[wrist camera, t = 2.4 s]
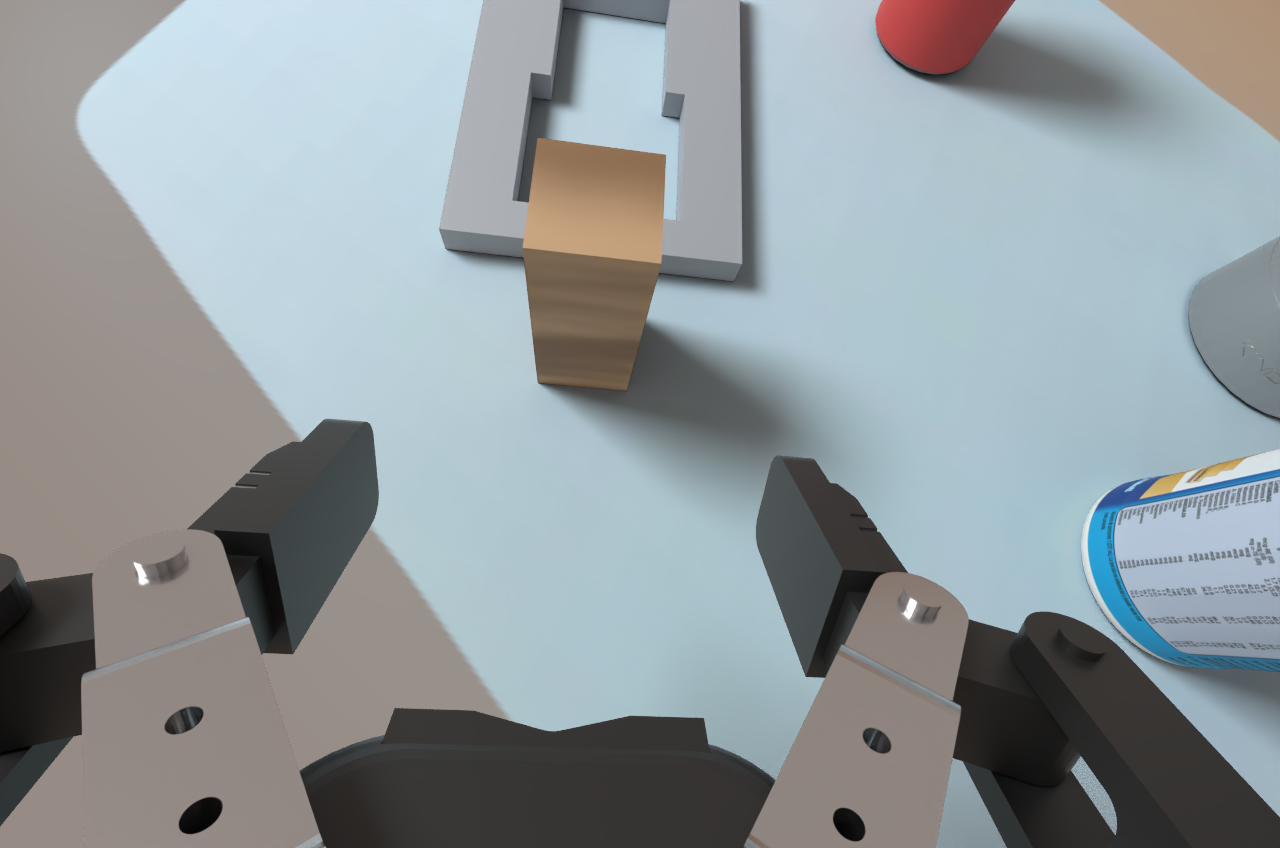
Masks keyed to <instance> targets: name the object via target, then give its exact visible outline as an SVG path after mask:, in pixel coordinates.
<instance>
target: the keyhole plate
mask: <svg viewBox="0 0 1280 848" xmlns="http://www.w3.org/2000/svg"><path fill="white" fill-rule="evenodd" d="M563 7H564V8H571V9H577V10H583V11H590V12H596V13H603V14H609V15H615V16H622V17H628V18H634V19H641V20H647V21H654V22H660V23H666V34H665V55H664V76H663V98H662V116H670V117H677V118H680V122H679V152H678V181H677V211H676V221H675V220H667V219H663V236H662V259H661V267H660V270H659V273H665V274H673V275H682V276H691V277H700V278H709V279H718V280H727V281H734V280H735V278H736V276H737V274H738V272H739V270H740V268H741V266H742V182H741V88H740V0H483V5H482V10H481V15H480V20H479V25H478V30H477V36H476V41H475V46H474V51H473V56H472V61H471V67H470V72H469V77H468V82H467V87H466V92H465V98H464V103H463V108H462V113H461V118H460V123H459V129H458V134H457V139H456V144H455V149H454V154H453V160H452V165H451V170H450V175H449V180H448V186H447V191H446V196H445V201H444V206H443V211H442V217H441V222H440V227H439V230H440V233H441V236H442V239H443V242H444V245H445V248H446V249H452V250H460V251H469V252H478V253H487V254H496V255H505V256H514V257H523V258H524V256H523V241H524V233H525V226H526V219H527V211H528V204H529V203H528V202H520V201H518V195H519V188H520V181H521V174H522V167H523V160H524V153H525V146H526V139H527V132H528V125H529V118H530V111H531V104H532V97H534V98H541V99H548V100H551V99H552V91H553V83H554V75H555V68H556V60H557V52H558V44H559V37H560V29H561V21H562V13H563Z"/></svg>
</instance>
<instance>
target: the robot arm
mask: <svg viewBox="0 0 1280 848" xmlns="http://www.w3.org/2000/svg"><path fill="white" fill-rule="evenodd" d="M1188 315H1189V322H1190V329H1191V332H1192V335H1193V338H1194V341H1195V344H1196V346H1197V348H1198V350H1199V352H1200V354H1201V355H1202V357H1203V359H1204V361H1205V362H1206V364H1207V365H1208V366H1209V368H1210V369H1211V370H1212V372H1213V373H1214V374H1215V376H1216V377H1217V378H1218V379H1219V380H1220V381H1221V382H1222V383H1223V384H1224V385H1225V386H1226V387H1227V388H1228V389H1229V390H1230V391H1231V392H1233V393H1234V394H1235V395H1236V396H1238V397H1239V398H1240V399H1242V400H1243V401H1244V402H1246V403H1247V404H1249V405H1251V406H1253V407H1255V408H1256V409H1258V410H1260V411H1262V412H1264V413H1266V414H1269V415H1272V416H1275V417H1278V418H1280V237H1278V238H1276V239H1274V240H1272V241H1270V242H1269V243H1267V244H1265V245H1263V246H1261V247H1259V248H1257V249H1256V250H1254V251H1252V252H1250V253H1248V254H1246V255H1244V256H1243V257H1241V258H1239V259H1237V260H1235V261H1233V262H1231V263H1230V264H1228V265H1226V266H1224V267H1222V268H1220V269H1218V270H1217V271H1215V272H1213V273H1211V274H1210V275H1208V276H1206V277H1205V278H1203V279H1202V280H1201V281H1200V282H1199V283H1198V285H1197V286H1196V287H1195V288H1194V291H1193V293H1192V295H1191V298H1190V303H1189V312H1188ZM378 498H379V491H378V479H377V469H376V458H375V447H374V437H373V431H372V427H371V425H370V424H369V423H368V422H361V421H348V420H336V419H325V420H323V421H322V422H321V423H320V424H319V425H318V426H317V427H316V428H315V429H314V430H313V431H312V432H311V433H310V434H309V435H308V436H307V437H306V438H305V439H304V440H303V441H302V442H291V443H289V444H287V445H286V446H283V447H281V448H279V449H277V450H275V451H273V452H271V453H269V454H267V455H266V456H265V457H264V458H262V459H261V460H260V461H259V462H258V463H257V464H256V465H255V466H254V467H253V468H252V469H251V470H250V473H249V474H245V475H244V476H243V477H242V478H241V479H240V480H239V481H238V482H237V483H236V486H235V487H232V488H231V489H229V490H228V491H227V492H226V493H225V494H224V495H223V496H222V497H221V498H220V499H219V500H218V501H217V502H215V503H214V504H213V505H212V506H211V507H210V508H209V509H208V510H207V511H206V512H205V513H204V514H203V515H202V516H201V517H200V518H199V519H197V520H196V521H195V522H194V523H193V524H192V525H191V526H190V527H189V528H188V529H185V530H173V531H166V532H161V533H156V534H153V535H149V536H146V537H143V538H140V539H138V540H135V541H132V542H130V543H128V544H126V545H124V546H122V547H120V548H119V549H117V550H115V551H114V552H112V553H111V554H109V555H108V556H107V557H106V558H104V559H103V560H102V561H101V562H100V563H99V565H98V566H97V567H96V569H95V571H94V573H90V574H83V575H75V576H69V577H61V578H53V579H46V580H39V581H31V582H25V580H24V578H23V576H22V574H21V571H20V569H19V567H18V564H17V562H16V561H15V560H14V559H13V558H12V557H10V556H7V555H5V554H0V826H1V824H3V822H4V821H5V820H6V818H7V817H8V816H9V815H10V814H11V812H12V811H13V810H14V809H15V807H16V806H17V805H18V804H19V803H20V801H21V800H22V799H23V798H24V796H25V795H26V794H27V793H28V792H29V790H30V789H31V788H32V787H33V785H34V784H35V783H36V782H37V781H38V779H39V778H40V777H41V776H42V774H43V773H44V772H45V771H46V769H47V768H48V767H49V766H50V765H51V763H52V762H53V761H54V760H55V758H56V757H57V756H58V755H59V753H60V752H61V751H62V750H63V749H64V747H65V746H66V745H67V744H68V742H69V741H70V740H71V739H72V738H73V736H78V735H82V756H83V807H84V808H83V809H84V848H936V843H937V838H938V833H939V827H940V822H941V817H942V811H943V806H944V801H945V795H946V790H947V785H948V779H949V774H950V769H951V763H952V758H955V759H958V760H961V761H963V763H964V765H965V767H966V769H967V770H968V772H969V774H970V776H971V778H972V780H973V782H974V784H975V786H976V788H977V790H978V792H979V794H980V796H981V798H982V800H983V802H984V804H985V806H986V807H987V809H988V811H989V813H990V815H991V817H992V819H993V821H994V823H995V825H996V827H997V829H998V831H999V833H1000V835H1001V837H1002V839H1003V841H1004V842H1005V844H1006V846H1007V848H1280V817H1279V816H1278V815H1277V814H1276V813H1275V812H1274V811H1273V810H1272V809H1271V808H1270V806H1269V805H1268V804H1267V803H1266V802H1265V801H1264V800H1263V799H1262V798H1261V797H1260V796H1259V795H1258V794H1257V793H1256V792H1255V791H1254V789H1253V788H1252V787H1251V786H1250V785H1249V784H1248V783H1247V782H1246V781H1245V780H1244V779H1243V778H1242V777H1241V776H1240V775H1239V774H1238V772H1237V771H1236V770H1235V769H1234V768H1233V767H1232V766H1231V765H1230V764H1229V763H1228V762H1227V761H1226V760H1225V759H1224V758H1223V757H1222V755H1221V754H1220V753H1219V752H1218V751H1217V750H1216V749H1215V748H1214V747H1213V746H1212V745H1211V744H1210V743H1209V742H1208V741H1207V739H1206V738H1205V737H1204V736H1203V735H1202V734H1201V733H1200V732H1199V731H1198V730H1197V729H1196V728H1195V727H1194V726H1193V725H1192V724H1191V722H1190V721H1189V720H1188V719H1187V718H1186V717H1185V716H1184V715H1183V714H1182V713H1181V712H1180V711H1179V710H1178V709H1177V708H1176V707H1175V705H1174V704H1173V703H1172V702H1171V701H1170V700H1169V699H1168V698H1167V697H1166V696H1165V695H1164V694H1163V693H1162V692H1161V691H1160V690H1159V688H1158V687H1157V686H1156V685H1155V684H1154V683H1153V682H1152V681H1151V680H1150V679H1149V678H1148V677H1147V676H1146V675H1145V674H1144V673H1143V671H1142V670H1141V669H1140V668H1139V667H1138V666H1137V665H1136V664H1135V663H1134V662H1133V661H1132V660H1131V659H1130V658H1129V657H1128V655H1127V654H1126V653H1125V652H1124V651H1123V650H1122V649H1121V648H1120V647H1119V646H1118V645H1117V644H1115V643H1114V642H1113V641H1112V640H1110V639H1109V638H1108V637H1106V636H1105V635H1104V634H1102V633H1101V632H1099V631H1097V630H1096V629H1094V628H1092V627H1091V626H1089V625H1087V624H1085V623H1083V622H1081V621H1078V620H1076V619H1074V618H1071V617H1068V616H1065V615H1061V614H1058V613H1052V612H1035V613H1032V614H1030V615H1029V616H1027V618H1026V620H1025V621H1024V623H1023V625H1022V627H1021V629H1020V630H1019V632H1018V633H1015V632H1011V631H1008V630H1004V629H1001V628H997V627H994V626H990V625H986V624H983V623H979V622H976V621H973V620H970V619H968V615H967V612H966V610H965V608H964V607H963V606H962V604H961V603H960V602H959V601H958V600H957V599H956V597H954V596H953V595H952V594H951V593H950V592H948V591H947V590H946V589H944V588H943V587H941V586H940V585H938V584H936V583H934V582H932V581H930V580H928V579H926V578H923V577H921V576H917V575H914V574H910V573H908V572H907V571H906V569H905V568H904V566H903V565H902V564H901V562H900V561H899V559H898V558H897V556H896V555H895V553H894V552H893V551H892V549H891V548H890V546H889V545H888V543H887V542H886V540H885V539H884V538H883V536H882V535H881V533H880V532H877V528H876V526H875V525H874V523H873V522H872V520H871V519H870V518H868V515H867V513H866V512H865V510H864V509H863V507H862V506H861V504H860V503H859V502H858V500H857V499H856V498H855V497H854V496H852V495H851V494H850V493H848V492H847V491H846V490H844V489H843V488H842V487H841V486H839V485H838V484H834V483H829V481H828V479H827V478H826V476H825V475H824V473H823V472H822V470H821V469H820V467H819V466H818V464H817V463H816V461H815V460H814V459H812V458H801V457H788V456H776V457H775V458H774V459H773V461H772V463H771V467H770V470H769V474H768V478H767V482H766V486H765V490H764V494H763V498H762V502H761V506H760V510H759V514H758V518H757V525H756V540H757V546H758V549H759V552H760V555H761V557H762V560H763V563H764V566H765V568H766V571H767V574H768V576H769V579H770V582H771V584H772V587H773V590H774V593H775V595H776V598H777V601H778V603H779V606H780V609H781V611H782V614H783V617H784V619H785V622H786V625H787V628H788V630H789V633H790V636H791V638H792V641H793V644H794V646H795V649H796V652H797V654H798V657H799V660H800V663H801V665H802V668H803V671H804V673H805V676H806V677H822V678H825V679H824V681H823V684H822V686H821V688H820V690H819V692H818V694H817V696H816V698H815V700H814V702H813V704H812V706H811V708H810V710H809V713H808V715H807V717H806V719H805V721H804V723H803V725H802V727H801V729H800V731H799V733H798V735H797V737H796V739H795V742H794V744H793V746H792V748H791V750H790V752H789V754H788V756H787V758H786V760H785V762H784V764H783V766H782V768H781V771H780V773H779V775H778V777H777V779H776V780H775V779H773V778H772V777H771V776H770V775H769V774H767V773H766V772H764V771H763V770H761V769H760V768H758V767H757V766H756V765H754V764H753V763H751V762H749V761H747V760H745V759H743V758H742V757H740V756H738V755H736V754H734V753H732V752H729V751H727V750H724V749H722V748H719V747H716V746H713V745H710V744H708V740H707V734H706V728H705V722H704V718H681V717H650V716H628V717H623V718H618V719H614V720H609V721H604V722H600V723H595V724H590V725H585V726H581V727H576V728H571V729H566V730H562V731H555V732H554V731H544V730H541V729H537V728H533V727H530V726H526V725H523V724H519V723H516V722H512V721H508V720H505V719H501V718H498V717H494V716H490V715H487V714H483V713H480V712H476V711H463V710H434V709H403V708H401V709H400V708H395V709H394V712H393V714H392V717H391V720H390V723H389V725H388V728H387V731H386V734H385V735H383V736H378V737H374V738H371V739H368V740H364V741H361V742H358V743H355V744H352V745H349V746H347V747H345V748H342V749H340V750H337V751H335V752H332V753H331V754H328V755H327V756H325V757H323V758H321V759H319V760H317V761H315V762H313V763H311V764H310V765H308V766H306V767H305V768H303V769H302V770H300V771H299V769H298V766H297V763H296V760H295V757H294V754H293V751H292V747H291V744H290V741H289V738H288V735H287V732H286V729H285V726H284V723H283V720H282V717H281V714H280V710H279V707H278V704H277V701H276V698H275V695H274V692H273V689H272V686H271V683H270V680H269V677H268V674H267V671H266V668H265V664H264V662H263V658H262V654H263V653H279V654H293V653H294V652H295V650H296V648H297V647H298V645H299V643H300V642H301V640H302V639H303V637H304V635H305V634H306V632H307V630H308V629H309V627H310V625H311V624H312V622H313V620H314V619H315V617H316V615H317V614H318V612H319V610H320V609H321V607H322V605H323V604H324V602H325V600H326V599H327V597H328V595H329V594H330V592H331V591H332V589H333V587H334V586H335V584H336V582H337V580H338V579H339V577H340V576H341V574H342V572H343V571H344V569H345V567H346V566H347V564H348V562H349V561H350V559H351V557H352V556H353V554H354V552H355V551H356V549H357V547H358V546H359V544H360V542H361V541H362V539H363V538H364V535H365V534H366V532H367V531H368V529H369V528H370V526H371V524H372V522H373V520H374V518H375V515H376V511H377V506H378ZM1080 756H1081V757H1082V758H1083V759H1084V761H1085V762H1086V764H1087V765H1088V766H1089V768H1090V769H1091V771H1092V772H1093V773H1094V775H1095V776H1096V778H1097V779H1098V780H1099V782H1100V783H1101V785H1102V786H1103V787H1104V789H1105V790H1106V792H1107V793H1108V795H1109V797H1110V799H1111V801H1112V803H1113V806H1114V809H1115V812H1116V817H1117V832H1116V835H1114V833H1113V832H1112V830H1111V829H1110V827H1109V826H1108V824H1107V823H1106V822H1105V820H1104V819H1103V817H1102V816H1101V814H1100V813H1099V811H1098V810H1097V808H1096V807H1095V805H1094V804H1093V802H1092V801H1091V799H1090V798H1089V796H1088V795H1087V794H1086V792H1085V791H1084V789H1083V788H1082V786H1081V785H1080V783H1079V782H1078V780H1077V779H1076V777H1075V776H1074V774H1073V773H1072V771H1071V769H1072V768H1073V766H1074V765H1075V763H1076V762H1077V760H1078V759H1079V758H1080Z"/></svg>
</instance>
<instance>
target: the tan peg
mask: <svg viewBox="0 0 1280 848" xmlns="http://www.w3.org/2000/svg"><path fill="white" fill-rule="evenodd" d="M665 165H666V155H663V154H655V153H648V152H640V151H633V150H625V149H618V148H610V147H603V146H595V145H588V144H581V143H573V142H566V141H558V140H551V139H543V138H537V145H536V152H535V160H534V167H533V174H532V182H531V189H530V197H529V204H528V211H527V219H526V226H525V233H524V241H523V256H524V265H525V274H526V283H527V292H528V300H529V309H530V318H531V327H532V336H533V345H534V354H535V363H536V371H537V380H538V383H544V384H555V385H566V386H577V387H588V388H598V389H609V390H620V391H627V388H628V384H629V381H630V377H631V373H632V370H633V366H634V362H635V359H636V355H637V351H638V348H639V344H640V340H641V337H642V333H643V329H644V325H645V322H646V318H647V314H648V311H649V307H650V303H651V300H652V296H653V292H654V289H655V285H656V281H657V278H658V274H659V270H660V267H661V259H662V236H663V212H664V189H665Z"/></svg>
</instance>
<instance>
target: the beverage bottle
mask: <svg viewBox="0 0 1280 848" xmlns="http://www.w3.org/2000/svg"><path fill="white" fill-rule="evenodd" d="M1081 555H1082V562H1083V567H1084V572H1085V575H1086V578H1087V581H1088V584H1089V587H1090V589H1091V591H1092V593H1093V595H1094V597H1095V599H1096V601H1097V603H1098V604H1099V606H1100V608H1101V609H1102V611H1103V612H1104V614H1105V615H1106V616H1107V618H1108V619H1109V620H1110V621H1111V623H1112V624H1113V625H1114V626H1115V627H1116V628H1117V629H1118V630H1119V631H1120V632H1121V633H1122V634H1123V635H1124V636H1125V637H1126V638H1127V639H1129V640H1130V641H1131V642H1132V643H1134V644H1135V645H1136V646H1138V647H1139V648H1141V649H1142V650H1144V651H1146V652H1147V653H1149V654H1151V655H1153V656H1155V657H1157V658H1159V659H1162V660H1164V661H1167V662H1170V663H1173V664H1177V665H1181V666H1187V667H1196V668H1211V669H1228V668H1236V669H1251V670H1264V671H1277V672H1280V449H1277V450H1273V451H1269V452H1265V453H1261V454H1257V455H1252V456H1248V457H1244V458H1240V459H1236V460H1232V461H1228V462H1224V463H1220V464H1215V465H1211V466H1207V467H1203V468H1199V469H1194V470H1190V471H1186V472H1181V473H1177V474H1172V475H1166V476H1157V477H1150V478H1145V479H1140V480H1136V481H1132V482H1128V483H1124V484H1122V485H1119V486H1117V487H1115V488H1113V489H1111V490H1109V491H1108V492H1106V493H1105V494H1104V495H1103V496H1101V497H1100V498H1099V499H1098V500H1097V502H1096V503H1095V504H1094V505H1093V507H1092V508H1091V510H1090V512H1089V513H1088V516H1087V518H1086V520H1085V523H1084V527H1083V531H1082V538H1081Z"/></svg>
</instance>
